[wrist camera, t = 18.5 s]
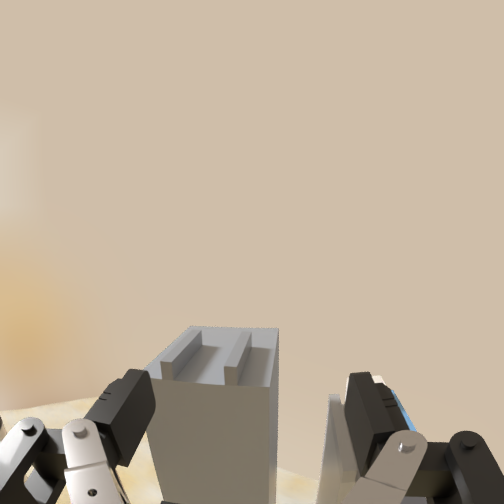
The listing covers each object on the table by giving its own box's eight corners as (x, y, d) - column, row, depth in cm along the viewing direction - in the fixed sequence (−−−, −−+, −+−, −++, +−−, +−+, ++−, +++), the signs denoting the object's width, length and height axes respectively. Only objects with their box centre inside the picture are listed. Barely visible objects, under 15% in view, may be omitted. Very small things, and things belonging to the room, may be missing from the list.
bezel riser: (375, 574, 21) (431, 458, 19) (314, 580, 22) (343, 471, 20) (364, 509, 35) (392, 389, 33) (313, 513, 36) (328, 394, 34)
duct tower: (266, 581, 22) (269, 367, 20) (189, 571, 24) (133, 357, 22) (275, 513, 36) (278, 314, 34) (211, 508, 37) (189, 313, 35)
